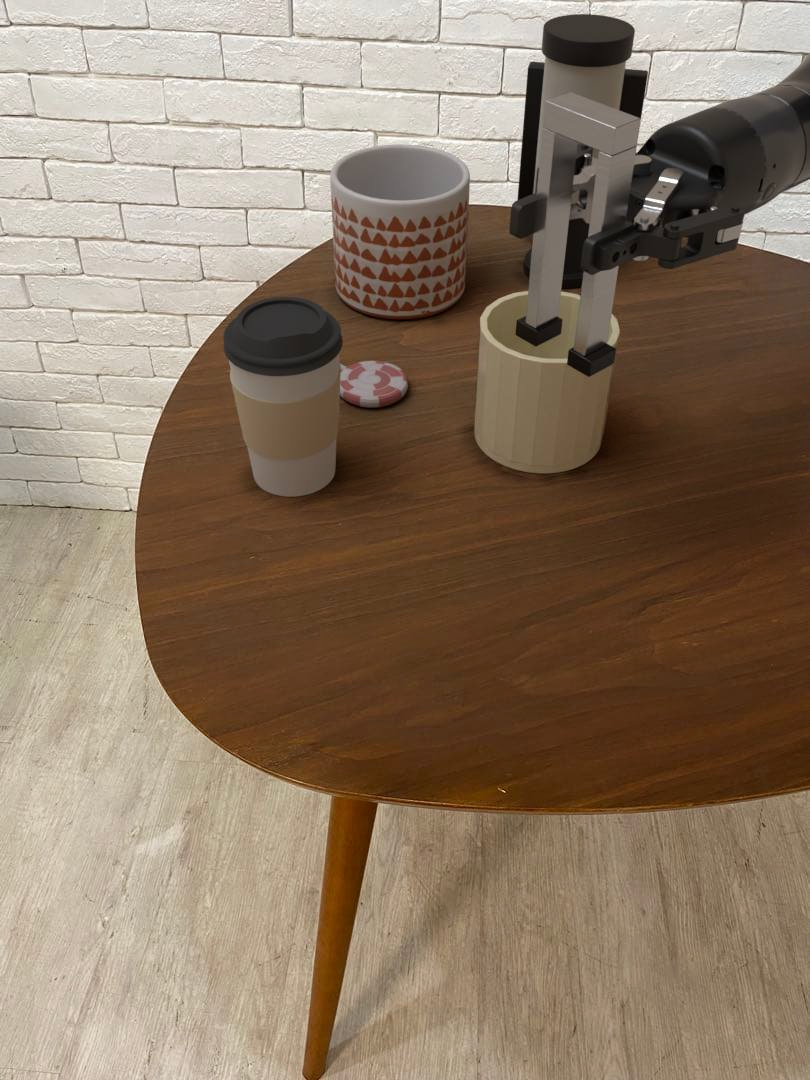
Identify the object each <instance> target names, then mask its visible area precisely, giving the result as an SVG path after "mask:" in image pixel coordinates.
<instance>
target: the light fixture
mask: <svg viewBox="0 0 810 1080" xmlns="http://www.w3.org/2000/svg"><path fill="white" fill-rule="evenodd" d="M542 27H543V28H542V39H541V53H542V54H543V56H544V62H543V61H542V62H541V61H530V62H529V63H528V67H527V73H526V75H527V76H526V85H525V86H526V88H525V100H524V113H523V123H522V124H523V125H522V135H521V137H522V139H521V151H520V162H519V163H520V164H519V173H518V174H519V176H518V187H517V200H519V199H523V198H524V197H527V196H529V195H532V194H534V193H535V187H536V177H537V169H538V168H539V163H540V152H541V140H542V129H543V120H544V109H545V101H546V100H549V99H552V98H555V97H558V96H561V95H564V94H566V93H569V92H572V93H574V94H577V95H580V96H582V97H585V98H588V99H590V100H593V101H596V102H598V103H601V104H604V105H606V106H609V107H612V108H614V109H617V110H620V111H622V112H625V113H627V114H630V115H633V116H635V117H638V118H640V119H641V121H642V115H643V109H644V103H645V97H646V96H645V95H646V89H647V83H648V76H649V71H648V70H645V69H644V70H643V69H632V68H626V67H627V66H626V65H627V61H628V60H630V59H631V57H632V55H633V48H634V39H635V33H636V30H635V29H636V28H635V27H634V25H632V24H631V23H629V22H628V21H626V20H623V19H620V18H617V17H613V16H608V15H601V14H590V13H589V14H588V13H579V14H577V13H576V14H575V13H574V14H566V15H565V14H564V15H560V16H556V17H553V18H550V19H548V20H547V21H546V22H544V24H543V26H542ZM641 121H640V123H642V122H641ZM640 128H641V127H640ZM640 128H639V130H640ZM639 135H640V133H639V134H638V136H639ZM638 142H639V141H637V143H638ZM578 144H581V143H579V142H578ZM636 147H637V148H638V145H637V146H636ZM598 153H599V150H596V149H594V148H593V156H592V157H593V158H596V159H598ZM579 191H580V190H577V191H576V192H574V193H573V194H572V198H571V204H575V203H576V202H577V201H578V199H579ZM517 200H516V201H517ZM589 225H590V224H587V223H586V222H585V221H584V220H583V219H582V218H579V219H572V220H569V225H568V234H567V243H566V252H565V261H564V270H563V279H562V288H561V289H577V288H582V280H583V272H584V271H582V270H581V267H580V266H581V258H582V250H583V244H584V242H585V240H586V239H587V238H588V232H589ZM532 243H533V234H531V247H530V249H529V250H527V252H525V255H524V257H523V272H524V274H525V275H526V276H527V278H529V277H530V266H531V254H532Z"/></svg>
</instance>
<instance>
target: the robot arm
mask: <svg viewBox="0 0 810 1080" xmlns="http://www.w3.org/2000/svg"><path fill="white" fill-rule="evenodd" d="M592 156H593V148H591V147H589V146H586V145H584V144H577V153H576V162H575V171H574V180H573V189H572V194H573V193H574V192H576V191H577V190H580V191H579V199H578V201H577V202H576V203H575V204H571V207H570V216H569V220H572V219H579V218H582V219H583V220H584V221H585V222H586V223H587V224H590V217H591V209H592V201H593V193H594V185H595V177H596V169H597V161H598V159H596V158H593V157H592ZM538 174H539V168H538V169H537V177H536V187H535V193H534V194H532V195H529V196H527V197H524V198H523V199H519V200H515V201H514V202H512V203H511V209H510V216H509V217H510V218H509V234H510V235H511V236H513V237H515V238H516V239H519V240H522V239H524V238H525V239H526V237H530V236H532V234H533V232H534V221H535V209H536V197H537V186H538ZM809 180H810V53H808V55H807V56H805V58H804V59H803V60H801V62H800V64H799V65H798V66H796V67H795V69H794V70H793V71H792V72H791V73H789V74H788V75H787V76H786V77H785V78H784V79H782V80H781V81H780V82H778V83H777V84H776V85H774V86H772V87H769V88H766V89H763V90H761V91H759V92H757V93H754V94H752V95H749V96H744V97H738V98H733V99H730V100H729V99H728V100H727V101H724V102H723V101H722V103H718V104H715V105H713V106H710V107H708V108H706V109H703V110H700V111H698V112H695V113H693V114H690V115H688V116H685V117H682V118H679V119H677V120H675V121H673V122H670V123H668V124H665V125H662V126H661V127H659V128H658V129H657V130H656V131H655V132H653V133H652V134H651V135H650V136H649V138H648V139H647V140H646V141H645V143H644V144H643V145H642V146H641V147H640V149H639V150H638V151H636V155H635V162H634V168H633V175H632V182H631V188H630V195H629V202H628V208H627V215H626V221H623V222H621V223H619V224H617V225H614V226H612V227H610V228H608V229H606V230H603V231H600V232H598V233H596V234H594V235H591V236H589V237H588V238H587V239H586V240H585V242H584V244H583V250H582V258H581V266H580V267H581V270H582V271H584V272H586V273H588V274H590V275H594V274H596V273H598V272H600V271H605V270H611V269H613V268H615V267H616V266H619V267H620V266H621V265H623V264H625V263H627V262H629V261H634V262H645V261H647V260H648V259H649V258H655V259H657V265H658V266H659V267H660V268H662V269H666V270H672V269H673V270H674V269H677V268H680V267H683V266H686V265H690V264H693V263H696V262H698V261H699V262H700V261H702V260H706V259H709V258H711V257H715V256H719V255H721V254H725V253H729V252H731V251H734V250H736V249H738V245H739V240H740V237H741V233H742V229H743V225H744V220H745V215H747V214H750V213H752V212H753V211H755V210H757V209H760V208H761V207H764V206H765V205H767V204H768V203H770V202H771V201H772V200H774V199H776V198H777V197H778V196H779V195H780V194H783V193H785V192H786V191H789V190H791V189H793V188H796V187H797V186H799V185H802V184H804V183H805V182H807V181H809ZM683 238H686V239H687V242H686V244H685V245H684V246H682V242H683Z"/></svg>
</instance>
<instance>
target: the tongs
mask: <svg viewBox="0 0 810 1080" xmlns="http://www.w3.org/2000/svg"><path fill="white" fill-rule="evenodd" d="M640 121H642V118H641V119H640V118H638V117H635V116H633V115H630V114H627V113H625V112H622V111H620V110H617V109H614V108H612V107H609V106H606V105H604V104H601V103H598V102H596V101H593V100H590V99H588V98H585V97H582V96H580V95H577V94H574V93H572V92H569V93H566V94H564V95H561V96H558V97H555V98H552V99H549V100H546V101H545V109H544V120H543V129H542V140H541V152H540V163H539V174H538V186H537V197H536V209H535V221H534V232H533V243H532V242H531V244H532V254H531V266H530V277H528V289H527V291H528V300H527V311H526V316H524V317H522V318H520V319H518V320H517V321H516V334H515V335H516V336H518V337H520V338H521V339H523V340H525V341H527V342H528V343H530V344H532V345H534V346H535V347H537V346H539V345H540V344H542V343H544V342H546V341H548V340H550V339H552V338H554V337H556V336H558V335H560V334H561V330H562V321H563V319H561V318H559V317H558V314H559V305H560V297H561V291H562V289H563V288H562V279H563V270H564V261H565V252H566V243H567V234H568V225H569V216H570V207H571V198H572V189H573V180H574V171H575V162H576V153H577V144H578V142H579V143H581V144H584V145H586V146H589V147H591V148H594V149H596V150H599V153H598V161H597V169H596V177H595V185H594V193H593V201H592V209H591V217H590V225H589V232H588V237H589V236H591V235H594V234H596V233H598V232H600V231H603V230H606V229H608V228H610V227H612V226H614V225H617V224H619V223H621V222H623V221H626V215H627V208H628V202H629V195H630V188H631V182H632V175H633V168H634V162H635V155H636V153H637V149H638V142H639V141H638V140H639V135H640V129H639V128H641V122H640ZM638 134H639V135H638ZM637 141H638V142H637ZM636 146H637V147H636ZM619 267H620V265H619V266H616V267H615V268H613V269H611V270H605V271H600V272H598V273H596V274H594V275H590V274H588V273H586V272H583V280H582V287H580V288H581V289H580V304H579V312H578V320H577V328H576V335H575V343H574V347H573V348H571V349H569V351H568V360H567V365H569V366H570V367H572V368H574V369H576V370H577V371H579V372H581V373H582V374H584V375H586V376H588V377H590V376H592V375H594V374H596V373H598V372H599V371H601V370H603V369H605V368H607V367H609V366H610V365H612V364H614V361H615V362H616V360H615V354H616V348H614V347H612V346H611V345H609V344H607V341H608V334H609V328H610V321H611V314H613V308H614V300H615V294H616V287H617V279H618V273H619V269H620V268H619ZM616 355H617V354H616Z"/></svg>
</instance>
